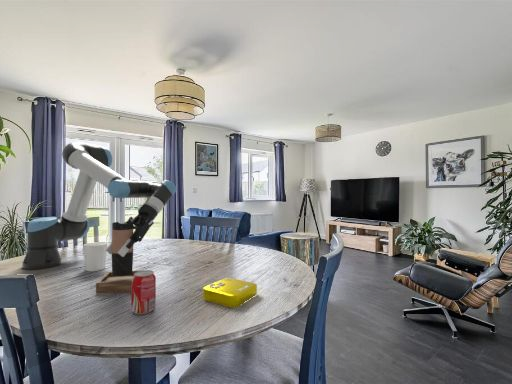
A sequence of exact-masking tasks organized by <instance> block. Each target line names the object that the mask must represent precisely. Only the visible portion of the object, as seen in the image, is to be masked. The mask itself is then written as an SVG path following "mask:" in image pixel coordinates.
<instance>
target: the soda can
mask: <svg viewBox="0 0 512 384" xmlns="http://www.w3.org/2000/svg"><path fill="white" fill-rule="evenodd" d="M142 270H143V271H138V272H135V273H134V277H133V278H132V285H131V292H130V294H131V295H130V297H131V298H130V307H131V308H130V309H131V312H132V313H133V314H135V315H147V314H149V313H151V312H152V311H154V309H155V307H156V295H157V294H156V293H157V292H156V291H157V287H156V286H157V282H156V281H157V280H156V279H157V278H156V275H155V274H154V273H155V272H154V271H153V270H148V269H147V270H144V269H142Z"/></svg>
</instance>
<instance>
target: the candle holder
mask: <svg viewBox="0 0 512 384" xmlns="http://www.w3.org/2000/svg"><path fill="white" fill-rule="evenodd" d="M107 247H108V242H107V241H93V242H87V243H84V244H83V250H84V251H83V255H84V270H85V271H87V272H98V271H102V270H104V269H105V268H106V266H107V265H106V264H107V253H108V252H107V251H106V250H105V249H106V248H107Z"/></svg>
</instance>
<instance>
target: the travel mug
mask: <svg viewBox="0 0 512 384" xmlns="http://www.w3.org/2000/svg"><path fill="white" fill-rule="evenodd" d="M133 225H134V224H133V222H127V221H124V222H119V221H115V222H112V224H111V242H112V253H111V272H112V275H113V276H125V275H129V274H131V273H132V271H133V267H134V266H133V265H134V263H133V262H134V245H133V246H132V247H131V248H130V249H129V251H128V252H127V253H126V254H125V256H124V257H122V256H121V255H120V254H118V251H119V250H120V249H121V248H122V246H123V245H124V244H125V243H126V242H127V240H128V239H131V238H130V237H131V236H132V235H133V233H134V230H133Z"/></svg>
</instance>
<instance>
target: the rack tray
mask: <svg viewBox="0 0 512 384" xmlns="http://www.w3.org/2000/svg"><path fill="white" fill-rule="evenodd" d="M143 270H144V269H142V270H138V269H137V270H132V273H131V274H129V275H125V276H113V275H112V271H107V272H106V273H105V274H104V275H102V277H101V278H99V280H98V281H97V282H96V283H95V295H102V294H118V293H119V294H121V293H131V285H132V278H133V277H134V273H135V272H138V271H143Z"/></svg>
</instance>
